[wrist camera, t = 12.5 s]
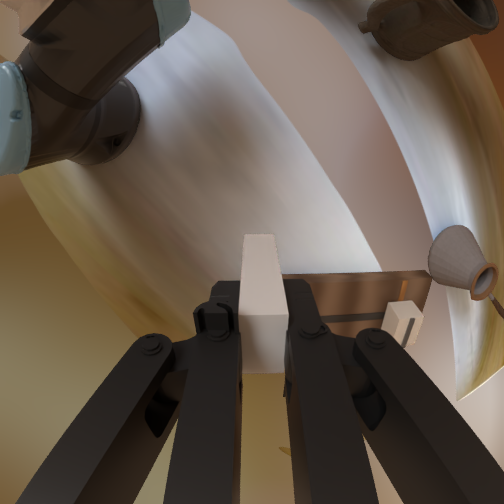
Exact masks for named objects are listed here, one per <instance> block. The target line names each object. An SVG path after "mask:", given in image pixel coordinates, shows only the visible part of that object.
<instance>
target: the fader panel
mask: <svg viewBox="0 0 504 504" xmlns="http://www.w3.org/2000/svg"><path fill="white" fill-rule="evenodd" d="M282 279H304V280H305V281H306V282H307V283H308V284H310V287H311V290H312V294H313V296H314V300H315V302H316V305H317V308H318V311H319V314H320V317H321V320H322V322H323V323H325V324H326V325H328V327H329V328H330V330H331V332H332V333H334V334H336V335H340V336H345V337H352V338H356V335H357V334H358V333H359V331H361V330H363V329H366V328H379V329H381V327H382V323H383V320H384V316H385V312H386V309H387V305H388V302H398V301H410V300H412V301H413V302H414V303H415V305H416V306H417V307H418V309H419V310H420V311H421V313H422V311H423V308H424V305H425V302H426V299H427V296H428V292H429V289H430V285H431V282H432V277H431V276H430V275H429V274H428V273H427V272H426V271H425V270H417V271H394V272H365V273H329V274H282Z"/></svg>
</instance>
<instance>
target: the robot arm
mask: <svg viewBox="0 0 504 504" xmlns="http://www.w3.org/2000/svg"><path fill="white" fill-rule="evenodd" d="M0 3H1V4H2V5H4V6H6V7H8V8H10V9H12V10H14V11H16V12H17V14H18V16H19V34H20V35H22V36H23V37H25V38H27V39H29V40H30V42H29V43H28V45H27V46H26V47H25V49H24V50H23V51H22V53H21V54H20V55H19V57H18V58H17V60H16V61H15V62H11V61H6V62H4V63H1V64H0V176H3V175H7V174H12V173H13V174H19V173H21V172H23V171H24V170H27V169H30V168H34V167H37V166H41V165H45V164H49V163H53V162H57V161H61V160H65V159H68V160H71V161H73V162H76V163H79V164H83V165H96V164H100V163H104V162H107V161H110V160H112V159H114V158H115V157H117V156H118V155H119V154H121V153H122V152H123V151H124V150H125V149H126V147H127V146H128V145H129V143H130V142H131V140H132V139H133V137H134V135H135V132H136V130H137V127H138V123H139V118H140V101H139V97H138V94H137V91H136V89H135V87H134V86H133V84H132V83H131V82H130V81H129V80H128V79H127V78H125V77H124V76H125V75H127V74H128V73H129V72H130V71H131V70H132V69H133V68H134V67H135V66H136V65H138V64H139V63H140V62H141V61H142V60H143V59H145V58H146V57H147V56H148V55H149V54H151V53H152V52H153V51H154V50H156V49H157V48H161V47H162V46H163V45H164V43H165V41H166V40H167V39H169V38H170V37H171V36H172V35H174V34H175V33H176V32H177V31H179V30H180V29H181V28H183V27H184V26H185V25H186V24H187V22H188V21H189V18H190V15H191V7H190V3H189V0H0ZM193 316H194V322H195V327H196V333H197V334H196V336H195V337H192V338H190V339H188V340H184V341H179V342H174V343H172V342H171V340H170V339H169V338H168V337H167V336H165V335H162V334H156V333H153V334H147V335H145V336H142V337H140V338H139V339H138V340H137V341H135V342H134V343H133V345H132V346H131V347H130V348H129V350H128V351H127V352H126V353H125V354H124V356H123V357H122V358H121V360H120V361H119V362H118V364H117V365H116V366H115V367H114V368H113V370H112V371H111V372H110V373H109V375H108V376H107V377H106V378H105V380H104V381H103V383H102V384H101V385H100V386H99V387H98V389H97V390H96V391H95V393H94V394H93V395H92V397H91V398H90V399H89V401H88V402H87V403H86V405H85V406H84V407H83V408H82V410H81V411H80V413H79V414H78V415H77V416H76V418H75V419H74V420H73V422H72V423H71V424H70V426H69V427H68V429H67V430H66V431H65V433H64V434H63V435H62V437H61V438H60V439H59V441H58V442H57V444H56V445H55V446H54V448H53V449H52V451H51V452H50V453H49V455H48V456H47V458H46V459H45V460H44V462H43V463H42V465H41V466H40V468H39V469H38V471H37V472H36V474H35V475H34V476H33V478H32V479H31V481H30V482H29V484H28V485H27V487H26V488H25V490H24V491H23V493H22V494H21V496H20V497H19V499H18V500H17V502H16V503H15V504H133V503H134V501H135V499H136V497H137V495H138V493H139V491H140V490H141V488H142V486H143V484H144V482H145V480H146V478H147V476H148V474H149V472H150V471H151V469H152V467H153V465H154V463H155V461H156V459H157V457H158V455H159V453H160V452H161V450H162V448H163V446H164V444H165V442H166V440H167V438H168V436H169V434H170V432H171V430H172V429H173V427H174V425H175V423H176V421H177V419H178V423H177V428H176V433H175V438H174V443H173V449H172V454H171V460H170V465H169V471H168V477H167V483H166V489H165V495H164V502H163V504H240V468H241V463H240V462H241V426H242V425H241V424H242V388H243V384H242V374H264V373H265V374H267V373H284V367H285V385H284V394H283V397H286V404H287V415H288V426H289V435H290V436H289V437H290V448H291V458H292V459H291V460H292V471H293V483H294V495H295V504H379V501H378V497H377V492H376V488H375V483H374V479H373V475H372V471H371V466H370V463H369V458H368V454H367V451H366V447H365V443H364V439H363V435H364V437H365V439H366V440H367V442H368V444H369V445H370V447H371V449H372V450H373V452H374V454H375V456H376V457H377V459H378V460H379V462H380V464H381V466H382V467H383V469H384V471H385V473H386V474H387V476H388V478H389V479H390V481H391V483H392V484H393V486H394V488H395V490H396V491H397V493H398V495H399V496H400V498H401V500H402V502H403V503H404V504H504V472H503V470H502V469H501V467H500V466H499V465H498V463H497V462H496V460H495V459H494V458H493V456H492V455H491V454H490V452H489V451H488V450H487V448H486V447H485V446H484V444H482V442H481V441H480V439H479V438H478V437H477V435H476V434H475V433H474V432H473V430H472V429H471V428H470V426H469V425H468V424H467V423H466V421H465V420H464V419H463V418H462V416H461V415H460V414H459V413H458V412H457V410H456V409H455V408H454V407H453V405H452V404H451V403H450V402H449V401H448V399H447V398H446V397H445V396H444V395H443V393H442V392H441V391H440V390H439V389H438V387H437V386H436V385H435V384H434V383H433V382H432V380H431V379H430V378H429V377H428V376H427V375H426V374H425V373H424V371H423V370H422V369H421V368H420V367H419V365H418V364H417V363H416V362H415V361H414V360H413V359H412V358H411V356H410V355H409V354H408V353H407V352H406V351H405V350H404V349H403V347H402V346H401V345H400V344H399V343H398V342H397V341H396V340H395V339H394V337H393V336H392V335H390V334H389V333H388V332H387V331H384V330H382V329H379V328H366V329H363V330H361V331H359V333H358V334H357V335H356V338H352V337H345V336H340V335H336V334H334V333H332V332H331V330H330V328H329V327H328V325H326V324H325V323H323V322H322V320H321V317H320V314H319V311H318V308H317V305H316V302H315V300H314V296H313V294H312V290H311V287H310V284H308V283H307V282H306V281H305V280H304V279H282V274H281V269H280V264H279V258H278V253H277V248H276V243H275V237H274V234H244V241H243V255H242V269H241V281H218V282H217V283H216V284H215V285H214V286H213V287H212V290H211V295H210V299H209V301H208V302H205V303H202V304H201V305H199V306H198V307H196V309H195V310H194V312H193ZM362 434H363V435H362Z"/></svg>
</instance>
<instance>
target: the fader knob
mask: <svg viewBox="0 0 504 504" xmlns="http://www.w3.org/2000/svg"><path fill="white" fill-rule="evenodd" d="M423 319H424V315H423V314H422V313H421V311H420V310H419V309H418V307H417V306H416V305H415V303H414V302H413V301H412V300H410V301H398V302H388V305H387V309H386V312H385V316H384V320H383V323H382V327H381V329H382V330H384V331H387V332H388V333H389V334H390V335H392V336H393V337H394V339H395V340H396V341H397V342H398V343H399V344H400V345H401V346H402V347H403V348H405V346H407V345H413V344H414V343H415V341H416V338H417V336H418V333H419V330H420V327H421V325H422V322H423Z"/></svg>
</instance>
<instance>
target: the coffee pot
mask: <svg viewBox="0 0 504 504" xmlns="http://www.w3.org/2000/svg"><path fill="white" fill-rule="evenodd" d="M428 267H429V271H430V274H431V276H432V278H433V280H435V281H436V282H437V283H439V284H442V285H446V286H451V287H457V288H462V289H467V290H470V294H471V299H472V300H475V301H479V300H482V299H484V298H486V297H487V296H489V298H490V299H491V301H492V303H493V304H494V306H495V308H496V309H497V311H498V313H499V314H500V315H501V316H502V318H503V319H504V309H503V308H502V306H501V305H500V304H499V302H498V301H497V300H496V298H495V297H494V296H493V295H492V293H491V292H492V290H493V289H494V287H495V285H496V282H497V279H498V268H497V266H496V265H495V264H494V263H487V262H486V260H485V258H484V256H483V254H482V251H481V249H480V247H479V245H478V243H477V241H476V239H475V238H474V236H473V234H472V232H471V231H470V230H469V229H468V228H467V227H465V226H462V225H454V226H450V227H447V228H446V229H444V230H443V231H442V232H441V233H440V234H439V235H438V236H437V237H436V239H435V240H434V242H433V244H432V246H431V248H430V251H429V256H428Z"/></svg>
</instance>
